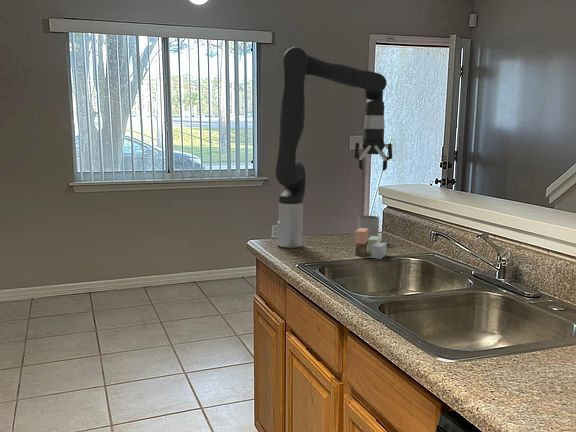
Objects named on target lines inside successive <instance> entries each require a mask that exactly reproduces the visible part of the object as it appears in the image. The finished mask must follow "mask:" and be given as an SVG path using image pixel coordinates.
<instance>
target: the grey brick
mask: <svg viewBox="0 0 576 432" xmlns="http://www.w3.org/2000/svg"><path fill="white" fill-rule="evenodd" d="M386 255H387V242H381V241H380V242H377V243H375V244H374V245H372V251H371V258H372V259H373V258H374V259H378V260H379V259H380V260H381V259H382V258H384V257H385V256H386Z"/></svg>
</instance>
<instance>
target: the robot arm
mask: <svg viewBox="0 0 576 432" xmlns="http://www.w3.org/2000/svg"><path fill="white" fill-rule="evenodd" d="M305 51H306V50H304V49H302V48H301V47H298V46H294V47H290V48H288V50H286V51H285V53H284V54H283V56H282V57H283V58H282V64H283V76H284V77H283V78H284V84H283V93H282V98H281V105H280V115H279V138H278V152H277V153H278V154H277V159H276V166H275V178H276V180H277V182H278V184H279V185H281V186H283V190H282V192H281V193H280V194H279V196H278V221H277V223H276V234H277V235H276V246H277V247H281V248H290V249H291V248H302V246H303V200H304V197H305V192H306V170H305V167H304V164H302V163H301V162H300V161H297V160H296V157H297V155H296V154H297V149H298V145H299V142H300V140H301V137H302V135H303V132H304V127H305V113H306V104H305V103H306V102H305V101H306V100H305V99H306V98H305V79H306V75H307V76H308V75H309V76H314V77H319V78H322V79H325V80H327V81H332V82H333V83H334V82H335V83H337V84H341V85H344V86H348V87H351V88H359V89H362V90H363V89H364V93H365V113H364V114H365V118H364V129H363V130H364V131H363V133H364V134H363V142H362V143H361V142H356V143H355V149H354V158H355V159H357V160H358V161H359V162H358V169H360V170H361V171H363V170H364V166H365V165H364V161H365V160H364V159H365V158H366V156H367V155H377V156H378V155H379V156H380V157H381V158H382V160H383V161H382V171H383V172H385V171H386V170H387V169H388V161H389V160H392V159H393V143H390V142H389V143H385V127H386V126H385V102H384V90H385V89H386V87H387V84H388V83H387V78H386V77H385V76H384V75H383V74H381V73H379V72H375V71H371V70H366V69H365V70H364V69H360V68H357V67H354V66H350V65H346V64H343V63H338V62H333V61H326V60H322V59H320V58H319V59H318V58H316V57H313V56H310V55H308V54H307V53H306V52H305ZM384 148H386V150H387V155H388V156H387V155H386V153H385V152H384ZM360 149H364V151H363V152H362V153H361V155H360Z"/></svg>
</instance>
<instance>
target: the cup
mask: <svg viewBox="0 0 576 432" xmlns="http://www.w3.org/2000/svg"><path fill="white" fill-rule="evenodd" d="M357 219H358V220H357V229H359V228H368V229H369V232H368V239H369V238H370V236H379V226H380V225H379V224H380V217H379V216H376V215H359V216H358V217H357ZM367 244H368V241H367Z"/></svg>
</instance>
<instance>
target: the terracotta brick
mask: <svg viewBox="0 0 576 432" xmlns="http://www.w3.org/2000/svg"><path fill="white" fill-rule="evenodd" d="M368 232H369V229H368V228H359V229H358V228H357V230H355V231H354V235H355V236H354V244H356V243H359V244H365V243H366V242H367V241H368Z"/></svg>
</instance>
